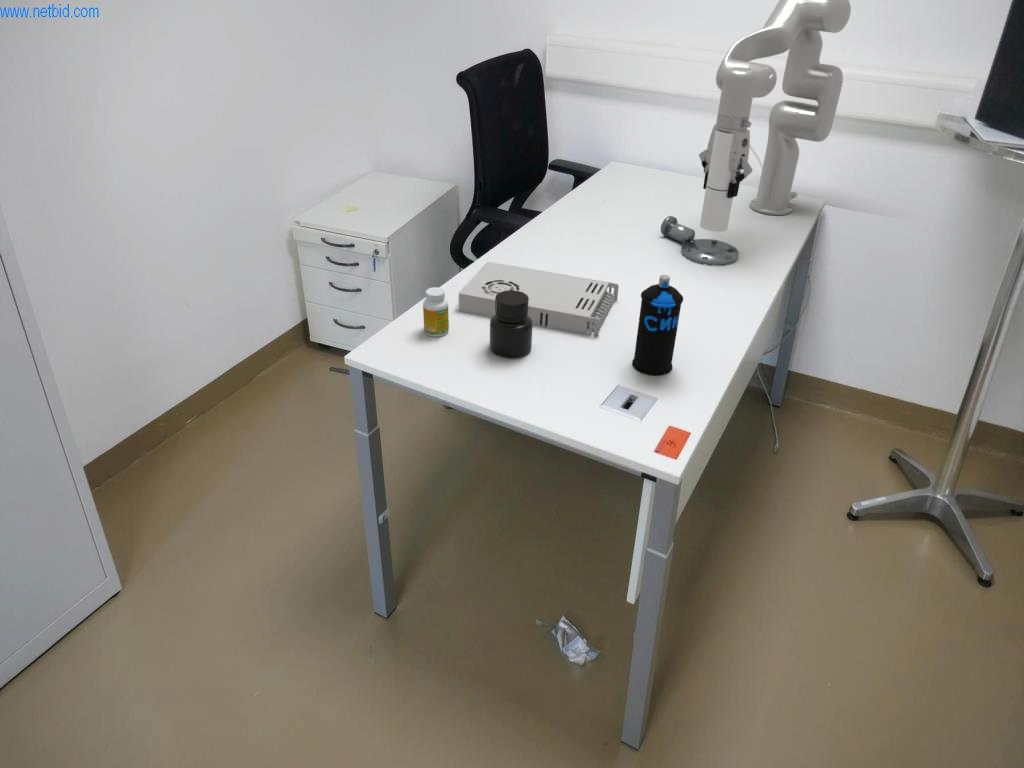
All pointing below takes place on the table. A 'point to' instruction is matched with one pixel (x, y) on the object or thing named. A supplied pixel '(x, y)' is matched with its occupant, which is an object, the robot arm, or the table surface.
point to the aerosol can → (657, 328)
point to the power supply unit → (543, 297)
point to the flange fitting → (699, 245)
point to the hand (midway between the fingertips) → (719, 192)
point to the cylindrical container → (718, 185)
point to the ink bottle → (511, 325)
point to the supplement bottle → (435, 313)
